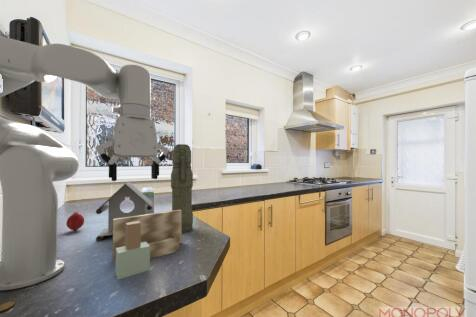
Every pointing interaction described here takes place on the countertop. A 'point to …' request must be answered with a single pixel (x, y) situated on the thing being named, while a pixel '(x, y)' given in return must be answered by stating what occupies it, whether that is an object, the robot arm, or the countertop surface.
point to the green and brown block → (132, 253)
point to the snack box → (149, 194)
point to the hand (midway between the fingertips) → (135, 179)
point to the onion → (75, 221)
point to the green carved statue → (182, 184)
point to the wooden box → (152, 232)
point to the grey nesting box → (114, 206)
